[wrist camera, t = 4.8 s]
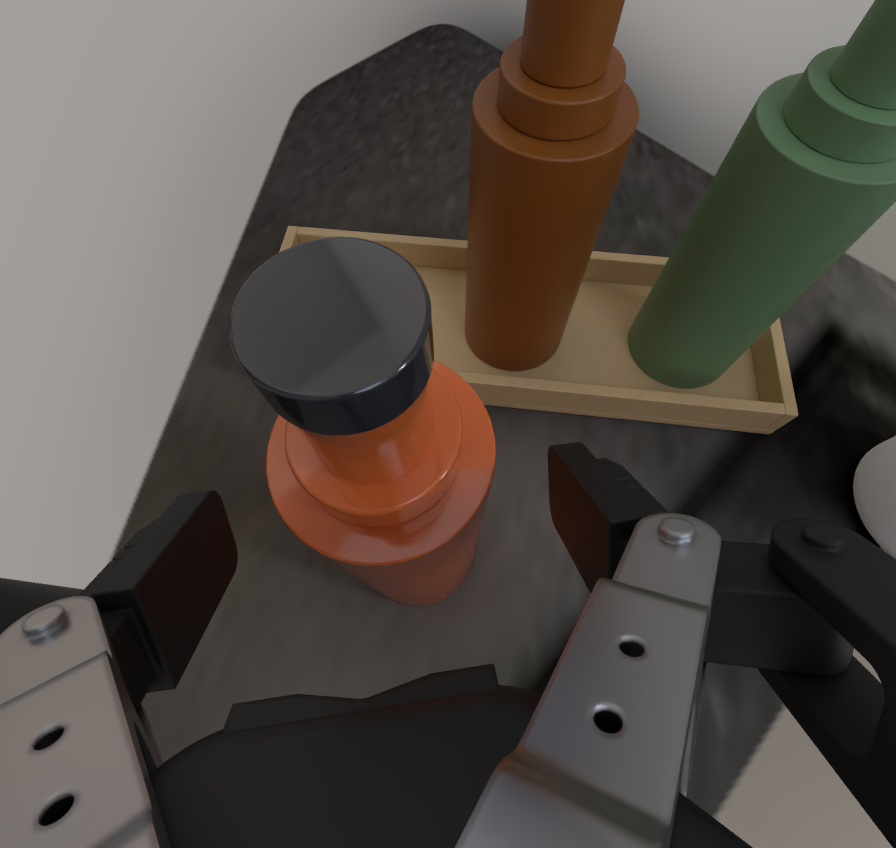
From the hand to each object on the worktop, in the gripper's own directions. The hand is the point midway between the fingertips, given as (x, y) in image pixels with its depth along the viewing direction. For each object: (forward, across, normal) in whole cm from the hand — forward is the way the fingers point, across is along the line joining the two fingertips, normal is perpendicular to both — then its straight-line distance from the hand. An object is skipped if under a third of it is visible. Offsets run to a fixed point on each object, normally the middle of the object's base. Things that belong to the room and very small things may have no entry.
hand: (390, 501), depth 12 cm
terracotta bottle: (+9, 0, +7) cm, 12 cm away
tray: (+17, -7, 0) cm, 18 cm away
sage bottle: (+15, -15, +1) cm, 21 cm away
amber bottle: (+16, -7, -1) cm, 18 cm away
